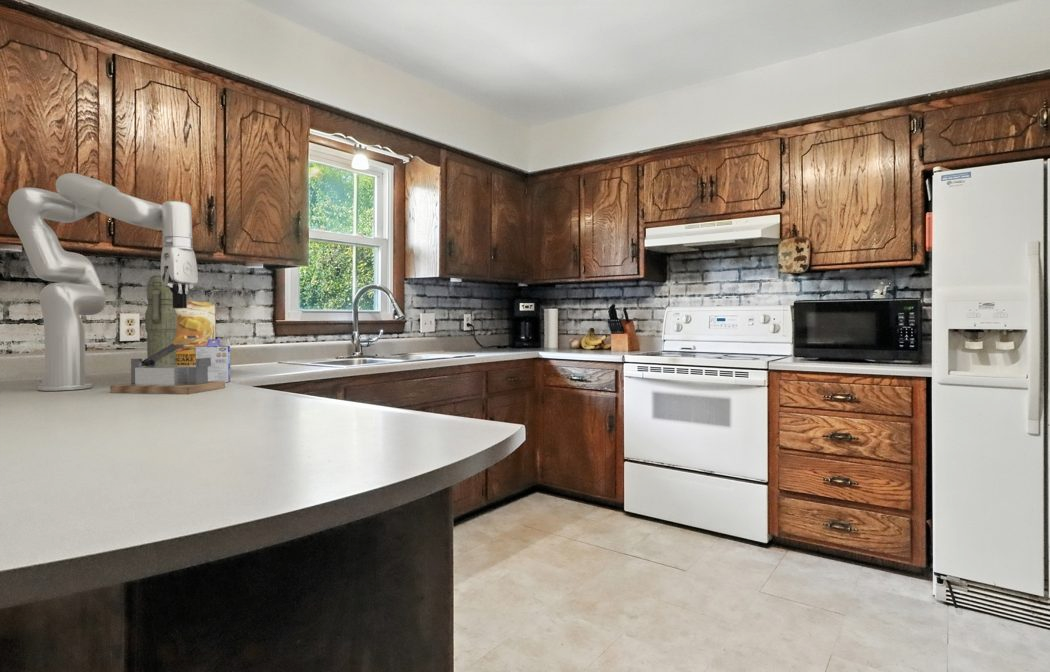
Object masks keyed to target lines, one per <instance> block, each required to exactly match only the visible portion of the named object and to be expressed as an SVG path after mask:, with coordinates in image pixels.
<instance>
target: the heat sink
mask: <svg viewBox="0 0 1050 672" xmlns="http://www.w3.org/2000/svg"><path fill="white" fill-rule="evenodd" d="M188 367H196V365H159V366H148V367H146V366H143V367H137V368H135V385H150V386H177V385H184V384H189V374H188Z"/></svg>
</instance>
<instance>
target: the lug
mask: <svg viewBox="0 0 1050 672" xmlns="http://www.w3.org/2000/svg"><path fill="white" fill-rule="evenodd" d="M208 366H211V358H198V359H196V367H188V374H189V385H198V384H205V383H208Z"/></svg>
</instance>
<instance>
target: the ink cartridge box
mask: <svg viewBox="0 0 1050 672" xmlns="http://www.w3.org/2000/svg"><path fill="white" fill-rule="evenodd" d="M210 341H215V343H209V342H210ZM220 343H221V339H220V338H215V339H208V342H207V346H197V347H196V359H198V358H211V366H208V381H225V383H229V382H231V377H232V376H231V345H221V344H220Z"/></svg>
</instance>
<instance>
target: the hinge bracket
mask: <svg viewBox="0 0 1050 672" xmlns="http://www.w3.org/2000/svg"><path fill="white" fill-rule="evenodd" d="M142 361H143V358H139V357H137V358H134V357H133V358H131V359H130V371H131V372H130V379H131V384H135V368H137V367H142ZM149 366H158V361H156V362H154V363H152V365H149Z"/></svg>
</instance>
